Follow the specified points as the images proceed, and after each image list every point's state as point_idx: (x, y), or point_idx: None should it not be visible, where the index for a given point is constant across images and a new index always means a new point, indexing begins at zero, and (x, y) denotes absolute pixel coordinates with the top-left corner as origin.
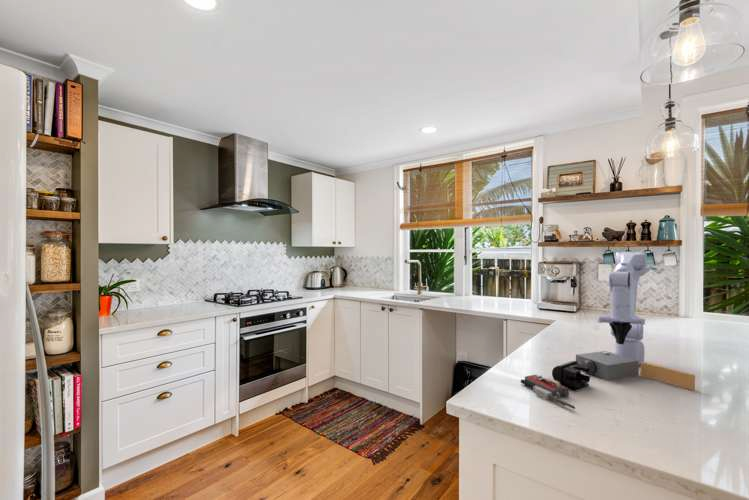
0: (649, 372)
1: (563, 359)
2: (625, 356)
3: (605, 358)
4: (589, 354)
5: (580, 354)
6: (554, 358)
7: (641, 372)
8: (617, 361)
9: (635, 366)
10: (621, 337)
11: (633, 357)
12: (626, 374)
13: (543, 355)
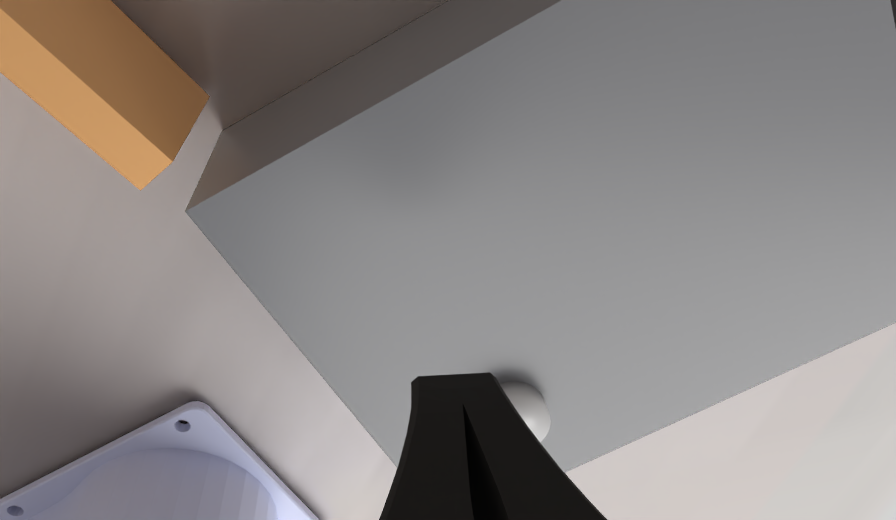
0: (112, 36)
1: (777, 447)
2: (205, 514)
3: (644, 217)
4: (752, 347)
5: (876, 321)
6: (846, 454)
7: (197, 102)
8: (550, 101)
9: (258, 143)
10: (499, 465)
11: (120, 507)
12: (415, 29)
13: (892, 506)
